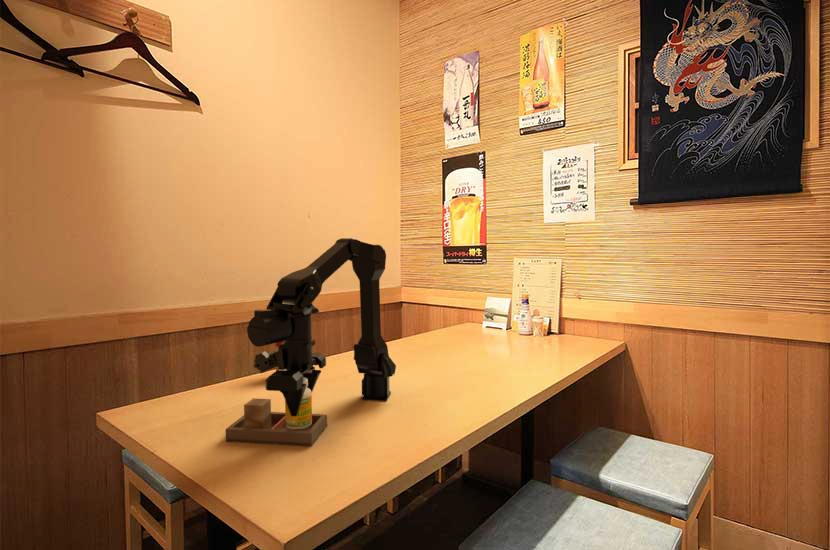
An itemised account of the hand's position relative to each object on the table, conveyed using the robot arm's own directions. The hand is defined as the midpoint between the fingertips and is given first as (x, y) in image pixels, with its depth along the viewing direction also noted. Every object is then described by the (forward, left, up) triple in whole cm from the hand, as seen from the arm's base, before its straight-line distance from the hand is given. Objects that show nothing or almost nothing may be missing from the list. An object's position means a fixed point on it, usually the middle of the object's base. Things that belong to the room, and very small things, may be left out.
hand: (299, 410), depth 94 cm
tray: (+5, 0, -5) cm, 7 cm away
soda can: (+19, -39, -5) cm, 43 cm away
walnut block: (+9, 0, -5) cm, 10 cm away
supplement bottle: (0, 0, -3) cm, 3 cm away
